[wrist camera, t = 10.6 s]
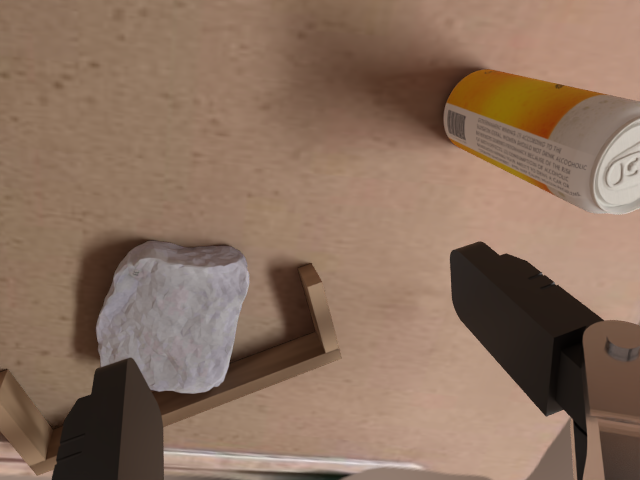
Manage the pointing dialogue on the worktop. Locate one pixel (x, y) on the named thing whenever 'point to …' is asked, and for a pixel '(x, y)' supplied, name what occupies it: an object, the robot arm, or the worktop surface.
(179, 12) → the worktop surface
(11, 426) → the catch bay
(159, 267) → the stone block
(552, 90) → the beer can
